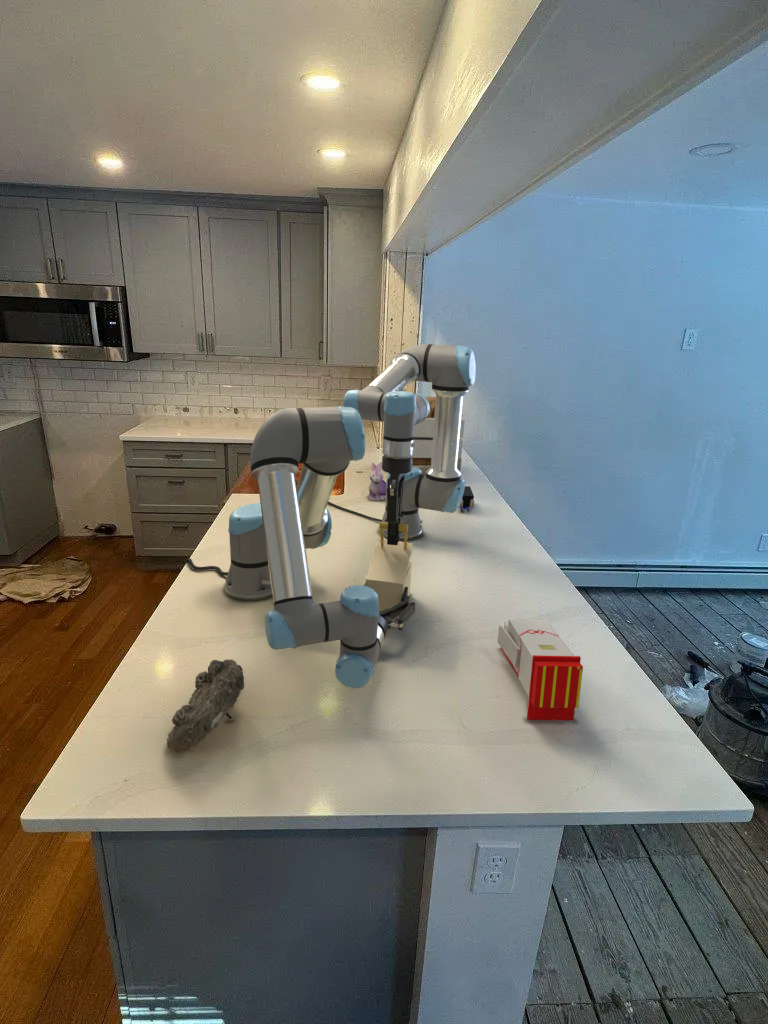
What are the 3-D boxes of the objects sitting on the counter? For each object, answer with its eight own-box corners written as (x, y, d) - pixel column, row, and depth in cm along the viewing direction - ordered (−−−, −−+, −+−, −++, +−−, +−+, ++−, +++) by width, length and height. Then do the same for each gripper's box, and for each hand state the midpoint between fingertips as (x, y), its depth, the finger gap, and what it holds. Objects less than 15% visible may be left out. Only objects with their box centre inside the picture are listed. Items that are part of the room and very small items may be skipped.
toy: (543, 604, 136) (592, 662, 106) (538, 656, 138) (584, 727, 109) (493, 603, 135) (528, 661, 106) (489, 655, 138) (522, 726, 109)
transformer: (382, 463, 289) (386, 382, 275) (445, 464, 293) (451, 384, 279) (390, 482, 257) (394, 392, 243) (460, 483, 261) (468, 394, 247)
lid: (378, 542, 155) (377, 516, 150) (413, 546, 153) (413, 520, 148) (365, 582, 142) (364, 555, 137) (403, 586, 140) (403, 560, 135)
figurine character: (474, 517, 223) (468, 500, 237) (476, 499, 220) (470, 484, 233) (457, 516, 223) (452, 500, 236) (459, 499, 220) (454, 483, 233)
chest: (376, 590, 159) (377, 558, 156) (409, 594, 158) (411, 562, 155) (364, 617, 145) (365, 582, 142) (401, 622, 144) (403, 587, 140)
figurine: (373, 502, 230) (374, 466, 225) (362, 495, 239) (363, 460, 234) (393, 500, 234) (395, 464, 229) (382, 492, 243) (383, 458, 238)
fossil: (192, 660, 117) (244, 628, 112) (224, 691, 120) (276, 661, 115) (142, 746, 98) (202, 712, 93) (182, 779, 101) (242, 748, 96)
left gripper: (319, 642, 128) (344, 596, 149) (417, 656, 125) (428, 607, 145) (319, 613, 126) (345, 570, 147) (419, 626, 122) (430, 581, 143)
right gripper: (408, 464, 133) (402, 555, 141) (416, 449, 147) (411, 533, 155) (376, 461, 134) (373, 552, 142) (388, 447, 148) (384, 530, 156)
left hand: (386, 589), depth 146 cm, fingers closed on chest, 10 cm apart
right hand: (393, 542), depth 149 cm, fingers closed on lid, 2 cm apart
